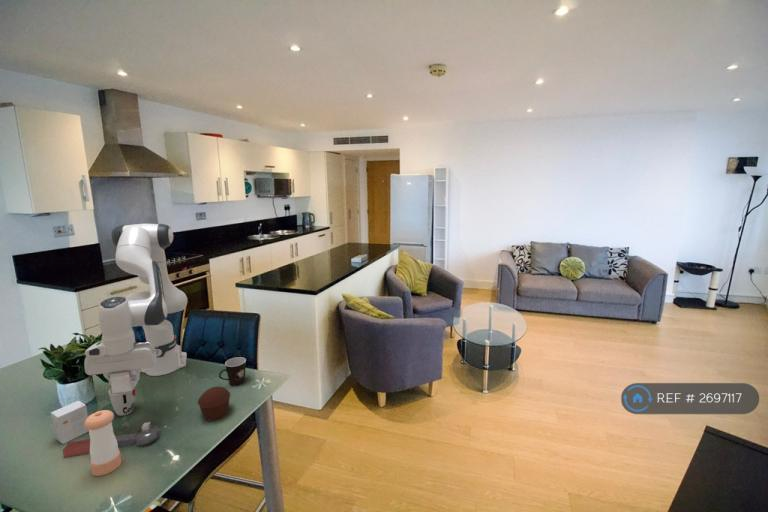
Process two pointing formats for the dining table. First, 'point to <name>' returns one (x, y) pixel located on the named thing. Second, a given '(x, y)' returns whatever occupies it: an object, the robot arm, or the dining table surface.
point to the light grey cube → (122, 381)
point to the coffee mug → (235, 371)
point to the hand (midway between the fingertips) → (124, 381)
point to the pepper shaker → (102, 443)
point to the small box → (69, 421)
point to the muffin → (214, 403)
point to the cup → (123, 401)
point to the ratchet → (118, 440)
